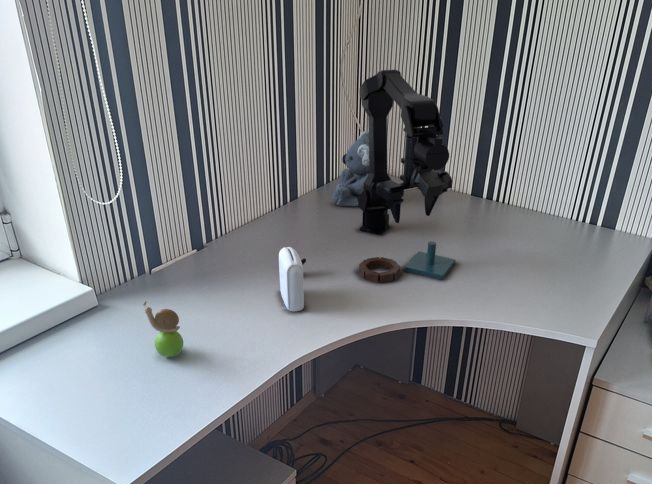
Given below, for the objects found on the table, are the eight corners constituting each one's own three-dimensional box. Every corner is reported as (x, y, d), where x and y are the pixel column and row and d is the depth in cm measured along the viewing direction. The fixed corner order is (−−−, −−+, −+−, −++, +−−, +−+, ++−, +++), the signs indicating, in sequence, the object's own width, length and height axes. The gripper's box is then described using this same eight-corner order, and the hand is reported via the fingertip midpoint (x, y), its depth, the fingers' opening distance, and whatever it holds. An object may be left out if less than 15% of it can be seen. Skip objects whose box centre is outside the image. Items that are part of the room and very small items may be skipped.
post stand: (404, 271, 171) (405, 246, 167) (418, 255, 179) (420, 231, 175) (442, 279, 168) (444, 255, 164) (455, 263, 175) (457, 239, 172)
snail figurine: (154, 347, 139) (145, 295, 132) (186, 346, 139) (179, 294, 133) (149, 362, 134) (140, 309, 128) (182, 362, 135) (175, 309, 128)
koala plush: (338, 187, 219) (339, 125, 208) (395, 191, 218) (398, 129, 207) (330, 207, 204) (331, 142, 194) (391, 211, 203) (394, 146, 192)
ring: (353, 277, 167) (353, 269, 166) (369, 261, 175) (369, 254, 174) (389, 285, 164) (390, 278, 163) (404, 269, 172) (405, 262, 171)
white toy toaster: (278, 291, 160) (276, 242, 153) (296, 289, 161) (295, 241, 154) (287, 313, 152) (285, 263, 145) (306, 311, 153) (305, 261, 146)
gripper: (404, 172, 149) (400, 239, 157) (470, 159, 158) (463, 223, 166) (375, 158, 157) (373, 222, 165) (440, 146, 166) (435, 207, 174)
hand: (412, 219), depth 167 cm, fingers open, 9 cm apart
